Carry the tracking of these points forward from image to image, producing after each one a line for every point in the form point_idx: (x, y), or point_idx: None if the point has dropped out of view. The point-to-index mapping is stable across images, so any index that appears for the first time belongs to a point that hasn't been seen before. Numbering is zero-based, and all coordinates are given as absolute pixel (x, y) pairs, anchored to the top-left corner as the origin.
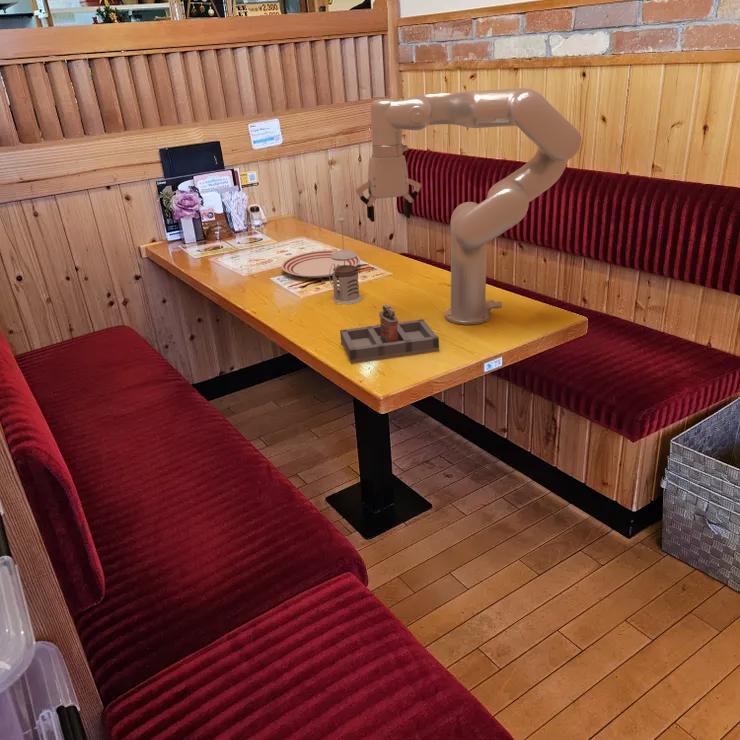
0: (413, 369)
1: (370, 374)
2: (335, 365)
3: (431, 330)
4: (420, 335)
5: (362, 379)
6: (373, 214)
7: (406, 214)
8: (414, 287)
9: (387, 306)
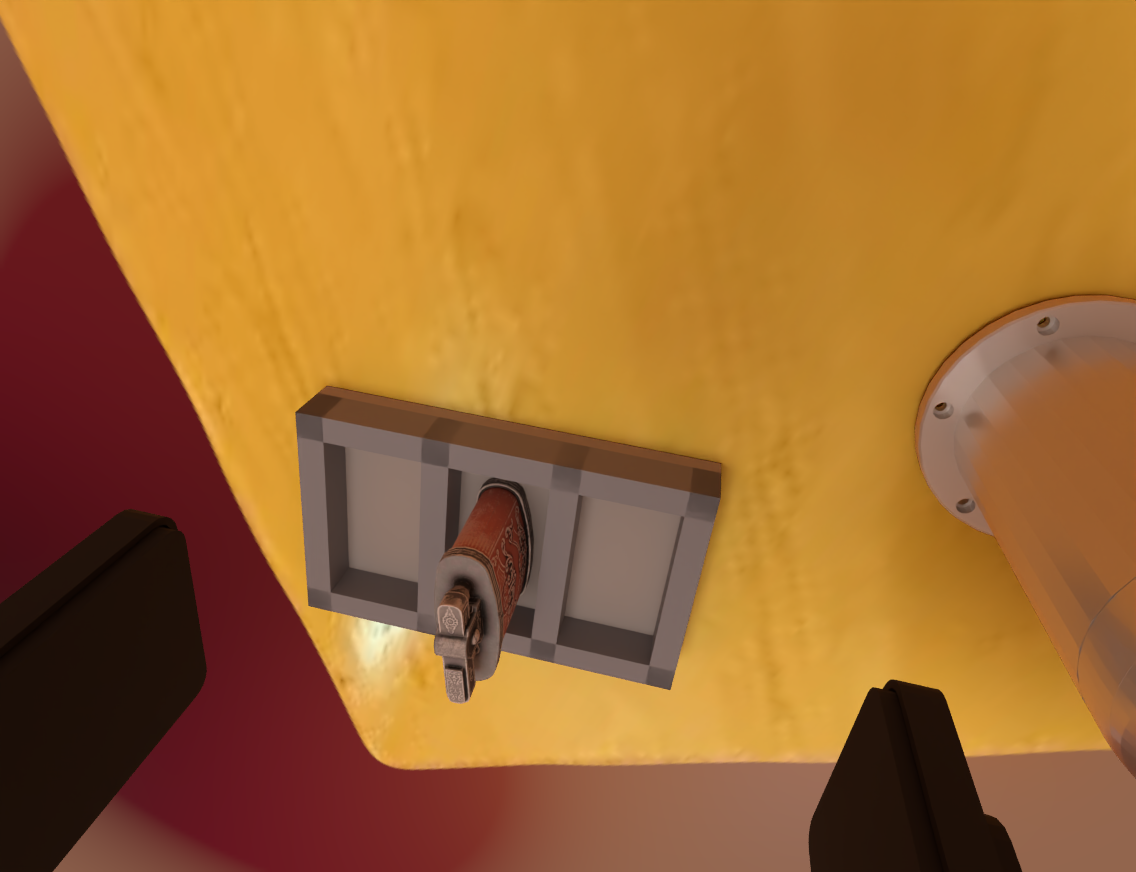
0: (523, 702)
1: (381, 661)
2: (279, 555)
3: (684, 619)
4: (663, 537)
5: (350, 673)
6: (106, 789)
7: (831, 841)
8: None
9: (448, 655)
